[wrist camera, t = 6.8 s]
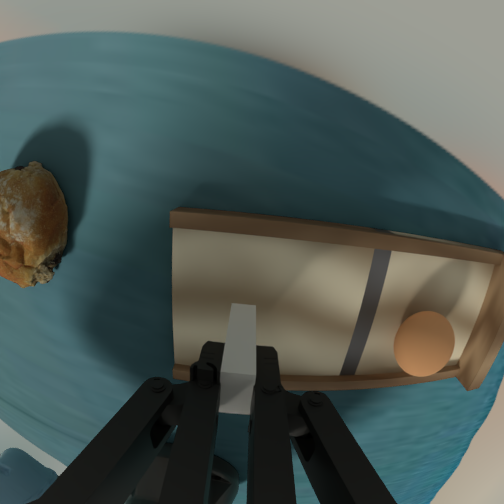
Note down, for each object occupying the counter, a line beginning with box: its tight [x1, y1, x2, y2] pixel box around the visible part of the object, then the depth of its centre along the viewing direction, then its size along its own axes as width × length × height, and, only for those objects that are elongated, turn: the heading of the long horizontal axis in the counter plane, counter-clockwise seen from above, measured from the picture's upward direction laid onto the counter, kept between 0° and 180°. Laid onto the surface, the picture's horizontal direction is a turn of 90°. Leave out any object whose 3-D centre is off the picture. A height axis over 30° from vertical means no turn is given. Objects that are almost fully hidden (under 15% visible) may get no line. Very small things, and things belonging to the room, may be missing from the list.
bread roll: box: [0, 161, 68, 288], centre depth 16 cm, size 10×10×8 cm
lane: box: [169, 207, 504, 391], centre depth 18 cm, size 13×29×4 cm, turn 84°
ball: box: [394, 311, 455, 377], centre depth 17 cm, size 5×5×5 cm
